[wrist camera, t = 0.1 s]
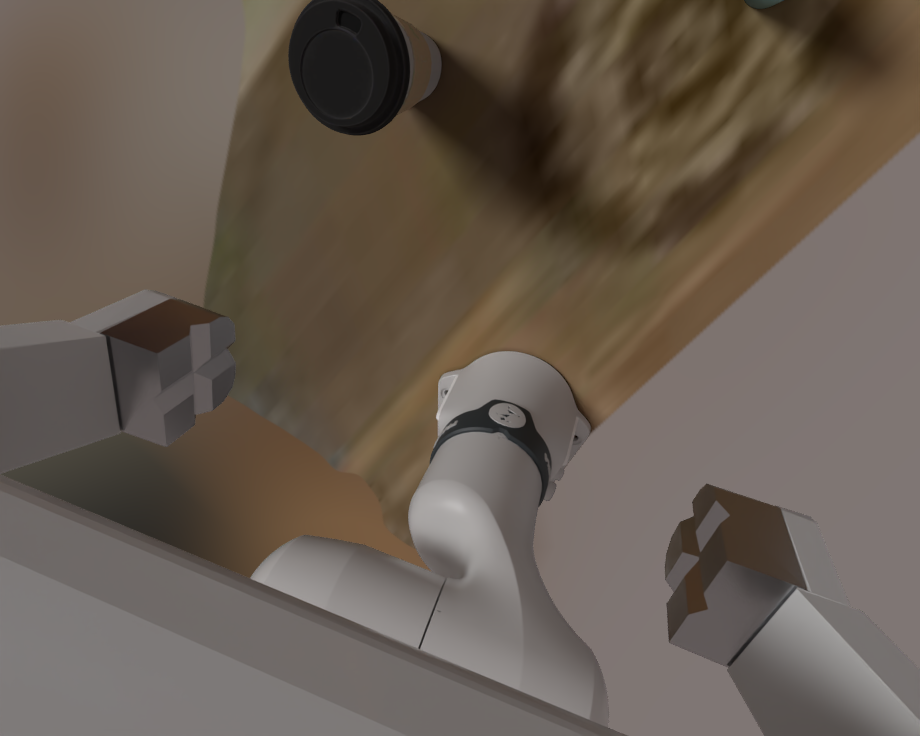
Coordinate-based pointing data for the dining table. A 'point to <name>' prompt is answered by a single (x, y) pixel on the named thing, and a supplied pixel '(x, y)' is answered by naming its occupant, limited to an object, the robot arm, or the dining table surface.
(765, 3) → the peg
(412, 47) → the coffee cup
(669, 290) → the dining table surface
